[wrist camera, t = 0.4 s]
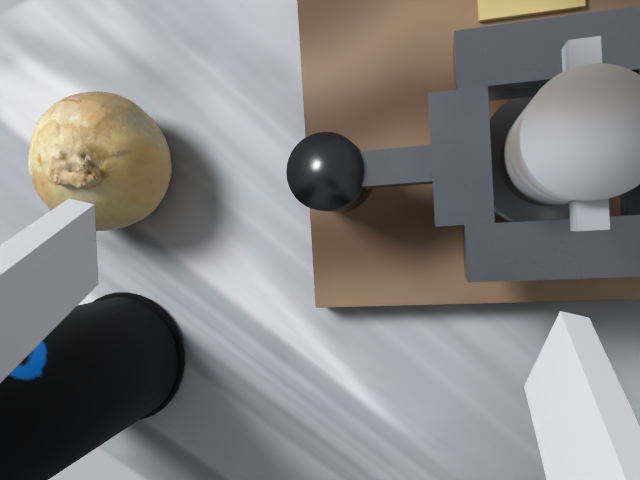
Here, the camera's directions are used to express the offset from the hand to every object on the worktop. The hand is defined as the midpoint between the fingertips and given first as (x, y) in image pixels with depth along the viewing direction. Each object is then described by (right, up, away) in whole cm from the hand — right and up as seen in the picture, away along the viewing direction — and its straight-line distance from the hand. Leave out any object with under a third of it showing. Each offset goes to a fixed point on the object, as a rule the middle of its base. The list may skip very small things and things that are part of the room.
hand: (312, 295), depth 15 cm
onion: (-12, +6, +19) cm, 23 cm away
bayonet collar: (+8, +5, +12) cm, 15 cm away
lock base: (+9, +8, +14) cm, 19 cm away
